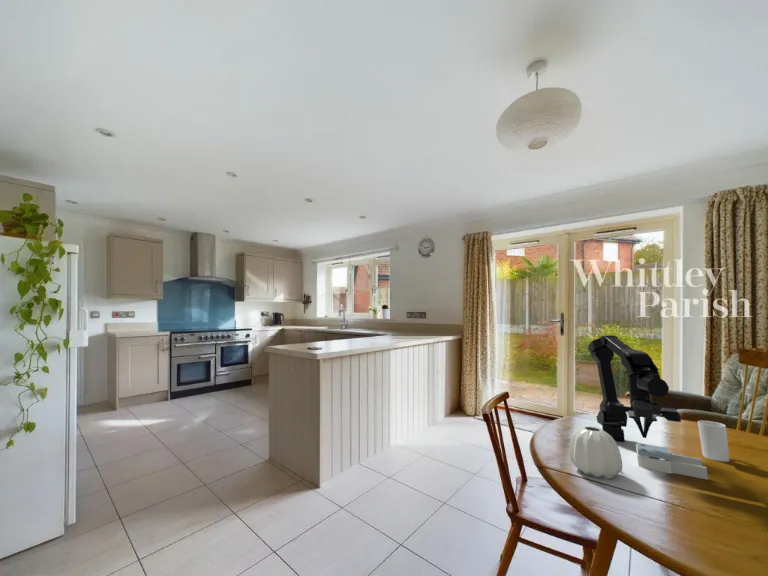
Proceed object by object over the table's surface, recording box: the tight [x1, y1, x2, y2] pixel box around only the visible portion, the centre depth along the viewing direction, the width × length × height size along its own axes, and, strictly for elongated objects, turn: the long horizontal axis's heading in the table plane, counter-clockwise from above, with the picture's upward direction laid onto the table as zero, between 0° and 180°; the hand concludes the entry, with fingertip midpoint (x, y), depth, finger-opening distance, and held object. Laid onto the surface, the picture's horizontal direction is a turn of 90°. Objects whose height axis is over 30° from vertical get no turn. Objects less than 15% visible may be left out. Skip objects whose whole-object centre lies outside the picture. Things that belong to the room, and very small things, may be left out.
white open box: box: [635, 443, 709, 480], centre depth 103 cm, size 16×18×4 cm
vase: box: [569, 425, 623, 479], centre depth 100 cm, size 14×14×13 cm
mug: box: [697, 420, 730, 463], centre depth 108 cm, size 10×7×12 cm, turn 127°
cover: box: [636, 442, 671, 461], centre depth 103 cm, size 8×8×2 cm
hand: (644, 437), depth 104 cm, fingers closed
